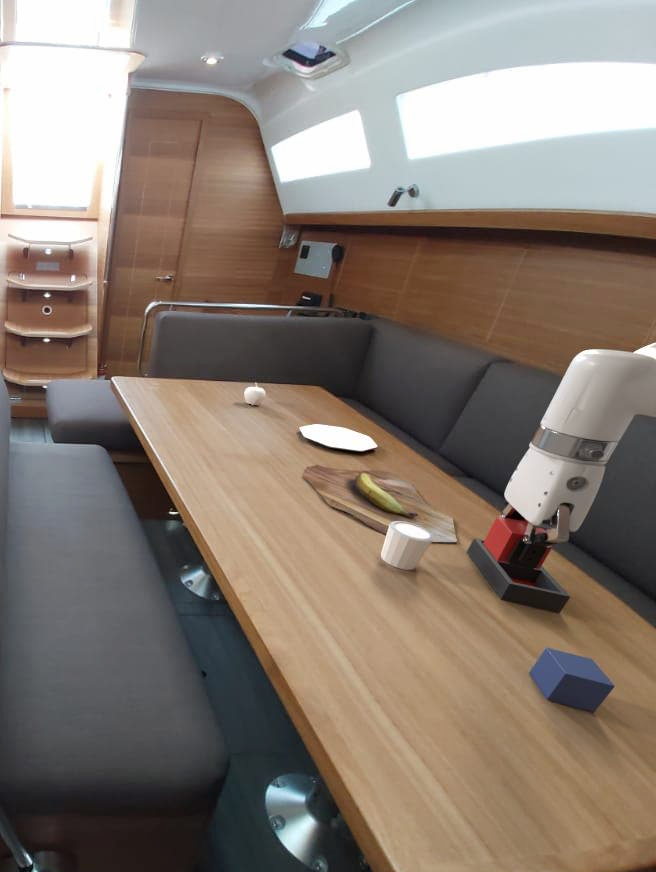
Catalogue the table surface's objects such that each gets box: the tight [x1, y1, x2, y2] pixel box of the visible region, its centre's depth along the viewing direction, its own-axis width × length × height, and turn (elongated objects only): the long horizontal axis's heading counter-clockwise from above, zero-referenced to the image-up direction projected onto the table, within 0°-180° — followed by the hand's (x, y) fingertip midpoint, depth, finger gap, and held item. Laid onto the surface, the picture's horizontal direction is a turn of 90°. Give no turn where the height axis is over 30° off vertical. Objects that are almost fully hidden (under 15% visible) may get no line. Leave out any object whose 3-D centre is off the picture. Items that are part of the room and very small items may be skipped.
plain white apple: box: [243, 382, 267, 406], centre depth 180 cm, size 7×7×8 cm
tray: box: [466, 537, 571, 613], centre depth 91 cm, size 8×15×4 cm, turn 158°
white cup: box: [380, 521, 434, 571], centre depth 94 cm, size 7×7×7 cm
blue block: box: [528, 647, 616, 713], centre depth 68 cm, size 5×5×5 cm
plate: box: [298, 423, 378, 453], centre depth 151 cm, size 20×20×2 cm
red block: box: [483, 516, 555, 569], centre depth 74 cm, size 5×5×5 cm
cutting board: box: [302, 464, 458, 543], centre depth 117 cm, size 35×27×4 cm
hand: (511, 553), depth 75 cm, fingers closed on red block, 5 cm apart
